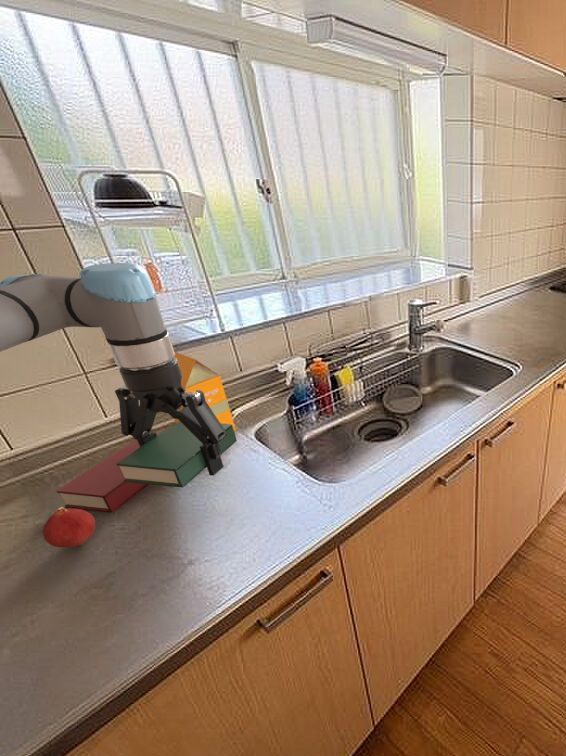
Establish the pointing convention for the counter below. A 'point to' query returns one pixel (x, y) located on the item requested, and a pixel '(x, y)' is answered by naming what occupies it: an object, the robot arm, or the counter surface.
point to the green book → (170, 457)
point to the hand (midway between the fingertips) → (188, 468)
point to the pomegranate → (68, 527)
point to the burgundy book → (102, 485)
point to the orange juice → (205, 387)
